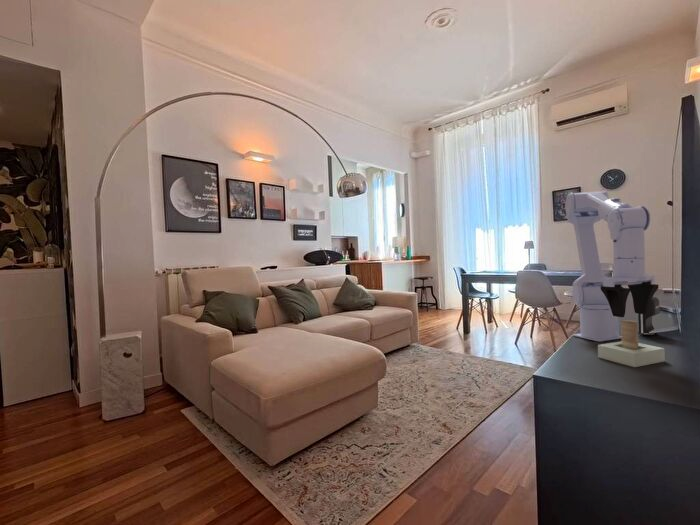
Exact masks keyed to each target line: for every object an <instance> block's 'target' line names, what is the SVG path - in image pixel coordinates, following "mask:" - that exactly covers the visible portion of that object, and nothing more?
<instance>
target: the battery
mask: <svg viewBox="0 0 700 525" xmlns="http://www.w3.org/2000/svg"><path fill="white" fill-rule="evenodd" d="M660 313H661V308H660V299H659V298H658V297H657V296H653V297H652V299H651V302H650V304H649V308H648V311H647V314H638V313H637V318H638V321H637V322H638V335H639V334H641V333H649V332H651V331H654V330H656V329H655V327H654V325H653V317H654V316H657V315H659V314H660Z"/></svg>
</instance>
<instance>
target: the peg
mask: <svg viewBox="0 0 700 525" xmlns="http://www.w3.org/2000/svg"><path fill="white" fill-rule="evenodd" d="M620 321H621V322H620V328H621V330H620V331H621V332H620V333H621V336H622V338H621V341H622V348H627V349H631V350H638V343H639V323H638V321H636V320H629V319H623V320H620Z"/></svg>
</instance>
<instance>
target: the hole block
mask: <svg viewBox="0 0 700 525" xmlns="http://www.w3.org/2000/svg"><path fill="white" fill-rule="evenodd" d="M665 350H666V349H665V348H664V347H660V346H655V345H650V344H645V343H641V342H638V350H631V349H627V348H622V340H620V341H614V342H608V343H601V344H598V345H597V358H599V359H603V360H606V361H611V362H614V363H617V364H621V365H625V366H629V367H633V368H637V367H643V366H648V365H652V364H659V363H664V362H665V360H666V359H665V358H666V356H665Z"/></svg>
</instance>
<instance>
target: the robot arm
mask: <svg viewBox="0 0 700 525" xmlns="http://www.w3.org/2000/svg"><path fill="white" fill-rule="evenodd" d="M564 206H565V207H564V208H565V213H566V214H565V215H566V220H567V223H570V224H572V225H573V228H574V234H575V240H576V245H577V251H578V259H579V264H580V271H581V276H579V277H578V278H576V279H575V280H574V281H573V282H572V293H571V295H572V300H573V303H574V304H575V305H576V307H578V308H579V318H580V319H579V325H580V326H579V329H580V333H574V335H573V337H577V338H581V339H585V340H589V341H590V340H591V341H594V342H600V343H601V342H605V341H606V342H607V341H612V340H619V339H622V335H620V334H619V333H620V332H619V330H620V329H619V328H620V327H619V326H620V325H619V318H624V317H625V315H626V307H627V302H628V298H629V297H628V296H629V294H630V293H631V298H632V303H633V309H634V311H633V312H634V313H635V314H637V315H638V314H647V311H648V308H649V304H650V302H651V299H652V297H654V295H655V293H656V292H657V291H658V290H659V284H655V282H656V281H655V278H656V277H655V275H654V274H646V264H645V263H646V260H645V256H646V255H645V231H646V230H647V229H648V228H649V226H650V223H651V213H650V211H649V209H648V208H647V207H646V206H644V205H641V206H637V207H633V206H632V205H630V204H629V203H628V202H624V201H622V200H621V198H620V197H611V198H609V193H608V191H606V190H602V189H601V190H598V191H597V190H595V191H585V192H584V191H583V192H568V194H567V196H566V198H565V205H564ZM601 220H603V221H605V222H606V223H607V227H608V230H609V234H610V236H609V237H610V239H611V240H612V242H613V243H612V247H613V248H612V250H613V251H612V252H613V255H612V256H613V276H610V277H608V276H606V275H604V274H603V273H602V268H601V261H600V256H599V250H598V245H597V239H596V233H595V232H596V231H595V227H594V224H595V223H598V222H600V221H601ZM624 286H627V287H624Z"/></svg>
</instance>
